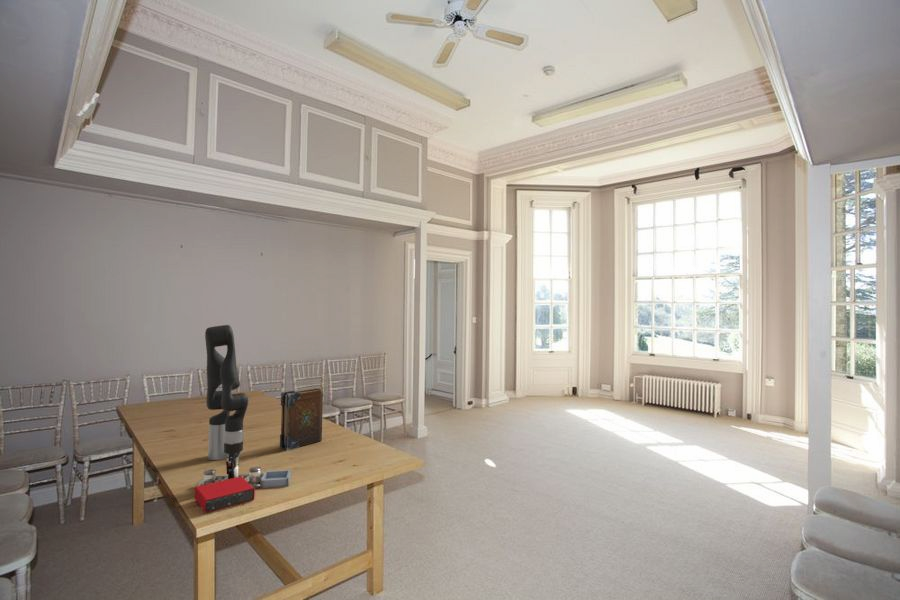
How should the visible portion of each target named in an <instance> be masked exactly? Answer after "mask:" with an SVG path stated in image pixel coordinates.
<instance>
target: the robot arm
mask: <svg viewBox="0 0 900 600" xmlns="http://www.w3.org/2000/svg"><path fill="white" fill-rule="evenodd" d="M204 337H205V338H204V339H205V340H204V341H205V347H206V381H207V383H206V385H207V388H206V408H207V409H208V410H209V411H210V410H211V411H212V410H213V411H215V410H222V411H221V412H220V413H218V414H215V415H212V416H210V417H209V420H208V445H207V446H208V447H207V448H208V449H207V450H208V451H207V452H208V453H207V459H208V460H210V461H219V460H225V459H227V460H226V462H225V463H226V464H225V465H226V475H227V474H228V479H232V478H234V473H235V468H236V465H238V466H239V463H240V453H241V452H242V451H243V450H244V418H245V416H246V413H247V408H248V405H249V397H248V395H247V394H246V393H244V392H240V393H239V392H238V393H233V394H232V391H235V390H236V389H237V390H238V388H240V386H241V382H240V377H239V373H238V368H237V359H236V358H237V356H236V347H235V335H234V332H233V327H231V325H230V324H224V325H215V326H208V327H207V328H206V330H205V334H204ZM223 346H224V347H225V346H226V355H225V356H223V355H222V354H220V353H219V352H218V351H217V349H216V348H218V347H223ZM220 386H222V387H221V390H217V389H218V388H219V387H220ZM234 411H235V412H234ZM231 412H234V413H233V414H232V415H231ZM233 465H234V466H233ZM230 469H231V470H232V471H230Z"/></svg>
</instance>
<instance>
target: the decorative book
mask: <svg viewBox="0 0 900 600" xmlns="http://www.w3.org/2000/svg"><path fill="white" fill-rule="evenodd" d="M323 397H324V389H323V388H320V387H319V388H317V387H316V388H307V389H302V390H287V391H281V392H280V406H281V418H280V419H281V420H280V422H281V423H280V435H279V449H281V450H282V449H285V452H286V451H287V452H288V451H293V450H296V449H298V448H299V447H303V446H307V445H310V444H314V443H317V442H321V441H322V440H323V439H322V437H323V406H324V405H323V401H324V398H323Z"/></svg>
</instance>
